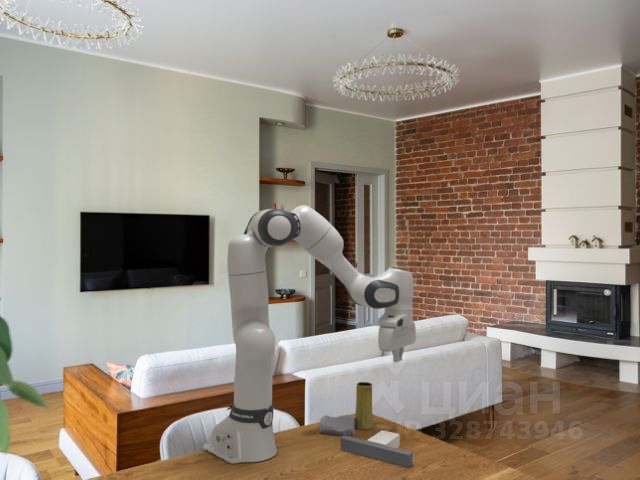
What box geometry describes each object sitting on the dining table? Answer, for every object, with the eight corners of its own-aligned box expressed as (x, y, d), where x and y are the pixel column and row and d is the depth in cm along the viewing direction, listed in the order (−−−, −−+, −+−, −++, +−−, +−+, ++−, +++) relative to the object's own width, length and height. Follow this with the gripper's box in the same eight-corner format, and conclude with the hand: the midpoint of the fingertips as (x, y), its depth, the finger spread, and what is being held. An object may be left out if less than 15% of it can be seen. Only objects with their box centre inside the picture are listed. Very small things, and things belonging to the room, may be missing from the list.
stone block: (356, 442, 175) (355, 425, 185) (355, 428, 174) (355, 412, 184) (318, 442, 176) (320, 425, 185) (318, 428, 175) (320, 412, 184)
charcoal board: (340, 449, 163) (340, 438, 163) (344, 447, 166) (345, 435, 166) (408, 467, 151) (409, 455, 151) (412, 464, 153) (412, 452, 153)
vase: (361, 422, 188) (361, 380, 188) (376, 425, 184) (377, 383, 184) (351, 426, 183) (351, 384, 183) (366, 431, 179) (367, 387, 179)
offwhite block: (366, 453, 161) (367, 440, 161) (381, 443, 170) (381, 430, 170) (385, 458, 158) (385, 444, 158) (399, 447, 167) (399, 434, 167)
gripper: (403, 313, 186) (402, 354, 186) (375, 320, 169) (373, 365, 169) (421, 315, 182) (419, 357, 183) (393, 322, 165) (392, 368, 166)
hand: (397, 361), depth 176 cm, fingers closed
